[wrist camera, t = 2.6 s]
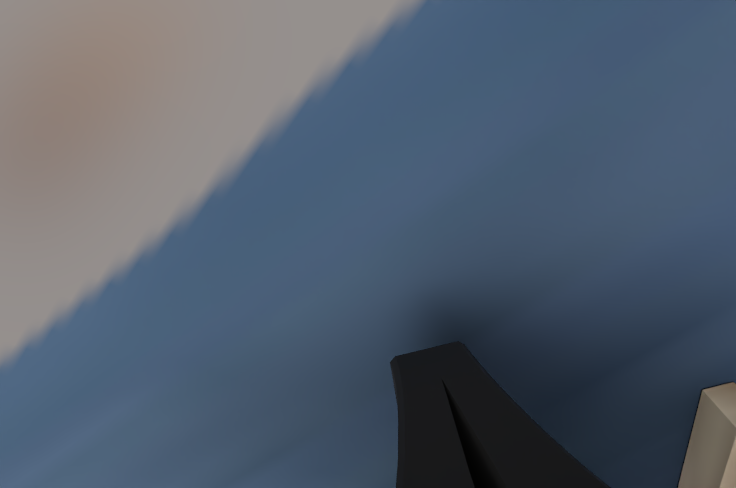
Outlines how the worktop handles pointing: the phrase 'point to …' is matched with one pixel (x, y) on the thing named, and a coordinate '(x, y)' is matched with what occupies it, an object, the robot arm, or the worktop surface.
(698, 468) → the bay
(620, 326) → the worktop surface
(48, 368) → the worktop surface
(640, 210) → the worktop surface
